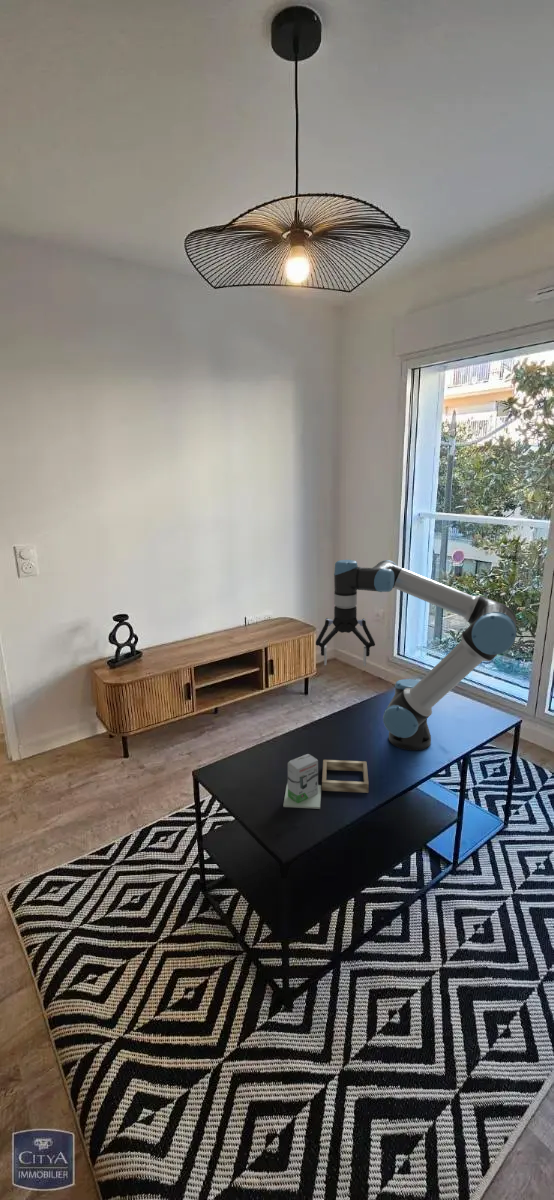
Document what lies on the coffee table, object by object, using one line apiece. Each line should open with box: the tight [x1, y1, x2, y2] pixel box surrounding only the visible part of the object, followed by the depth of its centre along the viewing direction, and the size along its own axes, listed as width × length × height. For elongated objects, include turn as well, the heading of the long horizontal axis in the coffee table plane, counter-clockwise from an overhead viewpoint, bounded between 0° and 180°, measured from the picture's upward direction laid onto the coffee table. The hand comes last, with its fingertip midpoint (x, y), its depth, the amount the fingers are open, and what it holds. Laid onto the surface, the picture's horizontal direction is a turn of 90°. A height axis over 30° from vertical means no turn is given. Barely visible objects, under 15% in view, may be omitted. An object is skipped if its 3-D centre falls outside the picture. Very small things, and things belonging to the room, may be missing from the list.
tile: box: [282, 783, 322, 810], centre depth 159 cm, size 11×11×1 cm
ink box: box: [287, 753, 319, 803], centre depth 157 cm, size 9×5×12 cm, turn 127°
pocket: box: [321, 759, 370, 794], centre depth 166 cm, size 14×13×3 cm
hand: (344, 664), depth 179 cm, fingers open, 13 cm apart
